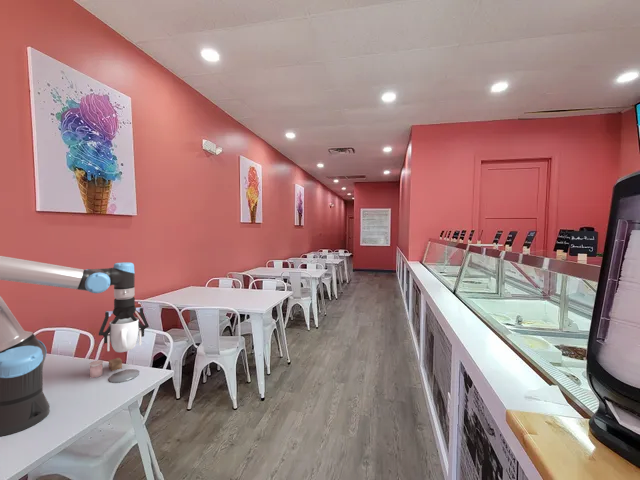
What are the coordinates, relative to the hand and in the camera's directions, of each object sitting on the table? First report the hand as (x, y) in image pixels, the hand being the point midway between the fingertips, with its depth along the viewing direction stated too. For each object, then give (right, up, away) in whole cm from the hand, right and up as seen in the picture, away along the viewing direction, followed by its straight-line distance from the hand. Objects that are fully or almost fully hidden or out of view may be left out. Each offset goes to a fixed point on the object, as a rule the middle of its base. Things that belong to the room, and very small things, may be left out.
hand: (124, 347), depth 125 cm
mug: (0, -2, 0) cm, 2 cm away
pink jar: (-13, -13, +1) cm, 19 cm away
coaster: (0, -13, 0) cm, 13 cm away
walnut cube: (-10, -13, +8) cm, 18 cm away
